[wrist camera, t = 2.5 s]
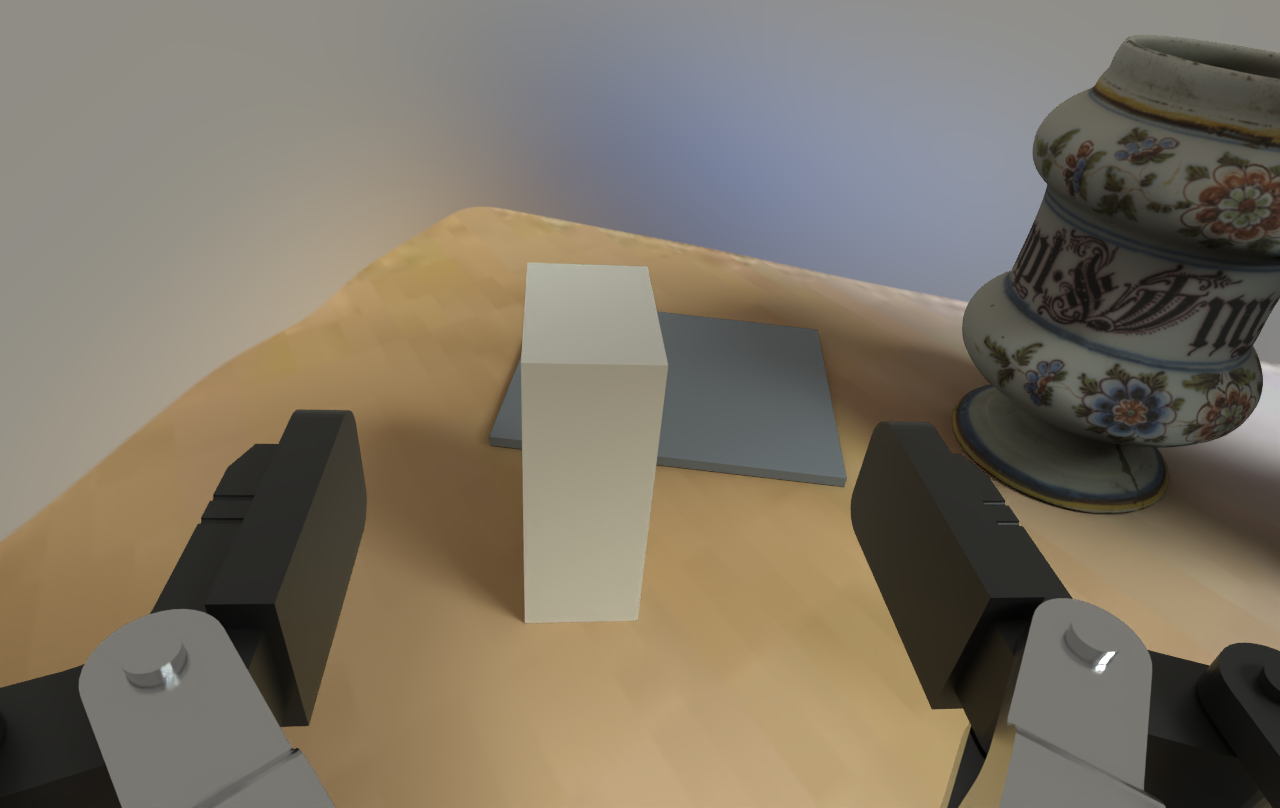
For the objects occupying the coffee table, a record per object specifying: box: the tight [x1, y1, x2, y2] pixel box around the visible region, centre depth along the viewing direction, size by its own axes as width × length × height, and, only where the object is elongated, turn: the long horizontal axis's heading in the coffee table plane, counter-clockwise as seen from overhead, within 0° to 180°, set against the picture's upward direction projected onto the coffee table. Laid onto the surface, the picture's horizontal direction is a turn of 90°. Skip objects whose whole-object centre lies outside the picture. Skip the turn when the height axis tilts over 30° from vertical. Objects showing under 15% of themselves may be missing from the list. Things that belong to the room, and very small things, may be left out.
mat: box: [489, 312, 847, 487], centre depth 40 cm, size 16×13×1 cm
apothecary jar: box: [952, 35, 1280, 514], centre depth 33 cm, size 12×12×18 cm
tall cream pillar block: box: [521, 263, 668, 623], centre depth 27 cm, size 4×6×11 cm, turn 5°
